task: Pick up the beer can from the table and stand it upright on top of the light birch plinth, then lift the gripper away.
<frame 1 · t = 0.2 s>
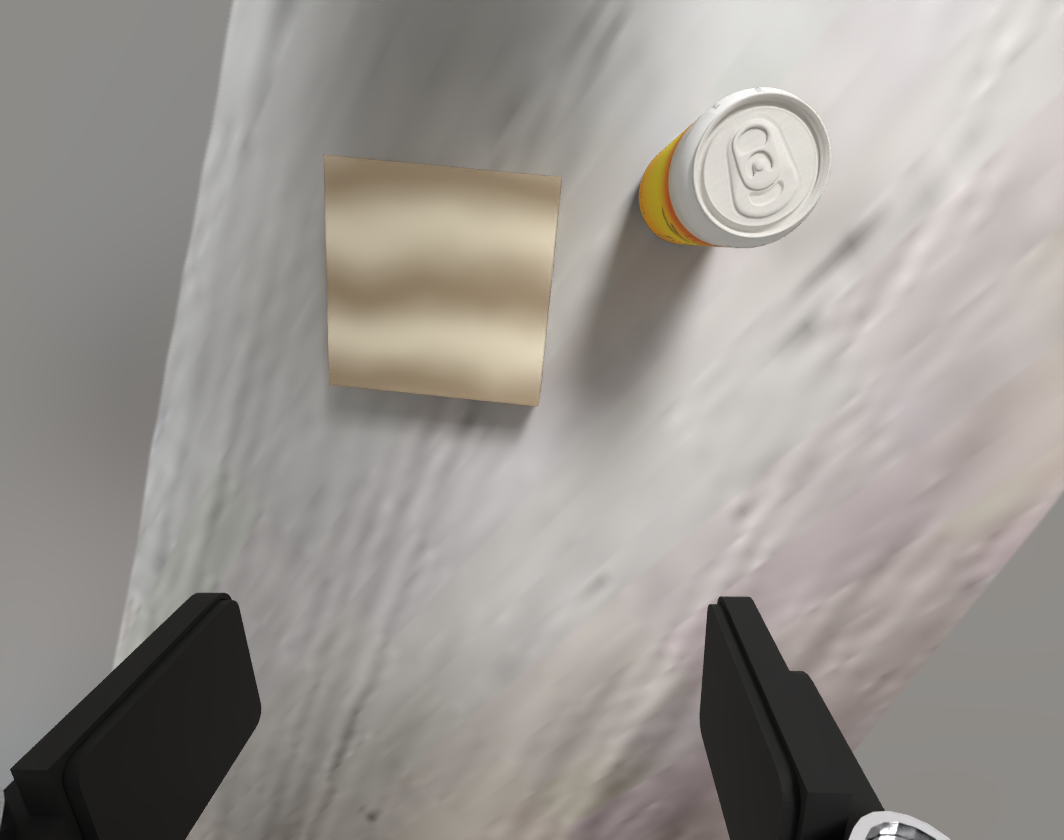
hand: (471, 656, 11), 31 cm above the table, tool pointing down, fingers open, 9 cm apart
birch plinth: (449, 282, 39), on the table
beer can: (684, 195, 37), on the table
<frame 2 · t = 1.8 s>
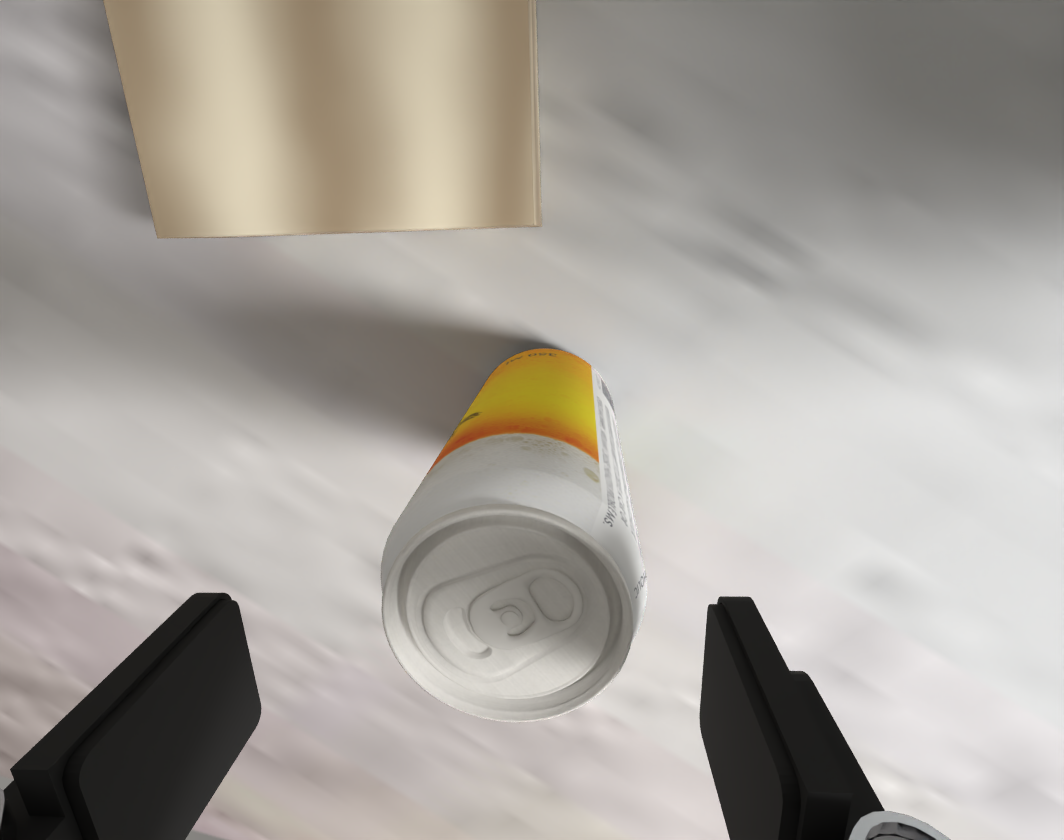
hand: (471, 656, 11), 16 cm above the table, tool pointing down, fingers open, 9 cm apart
birch plinth: (356, 42, 22), on the table
beer can: (546, 408, 26), on the table
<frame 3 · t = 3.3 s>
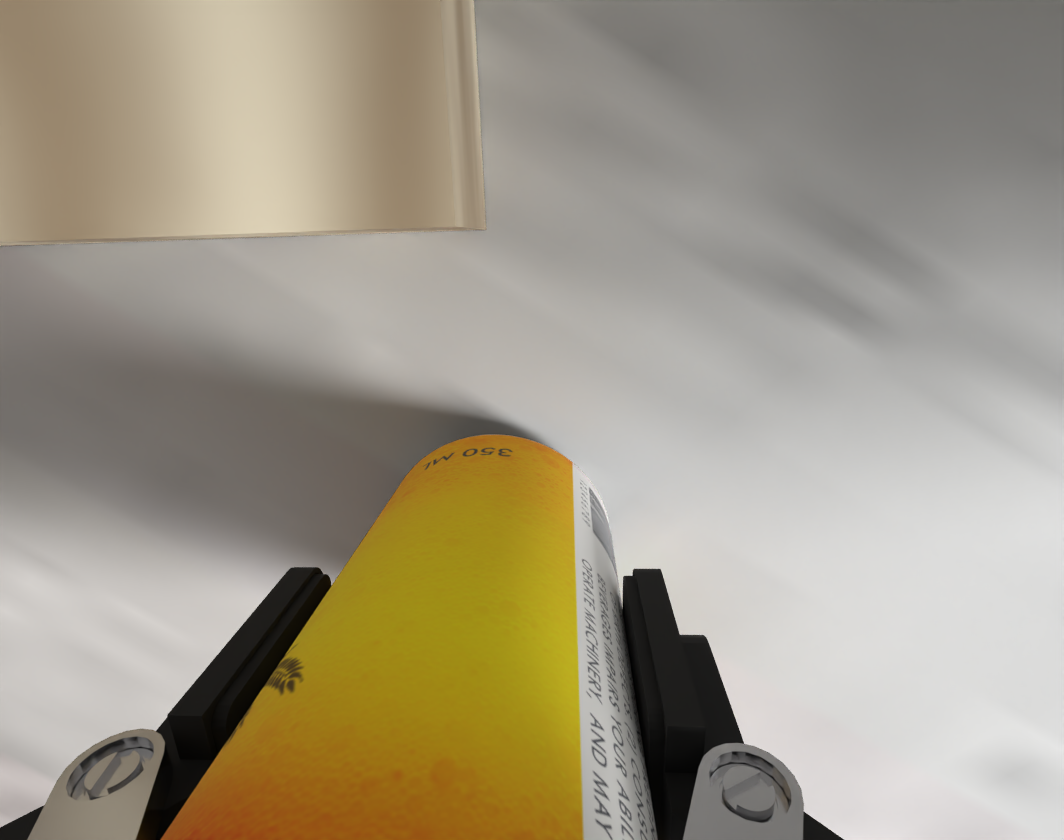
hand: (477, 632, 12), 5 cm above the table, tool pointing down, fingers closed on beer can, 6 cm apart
beer can: (502, 521, 16), on the table, touching gripper
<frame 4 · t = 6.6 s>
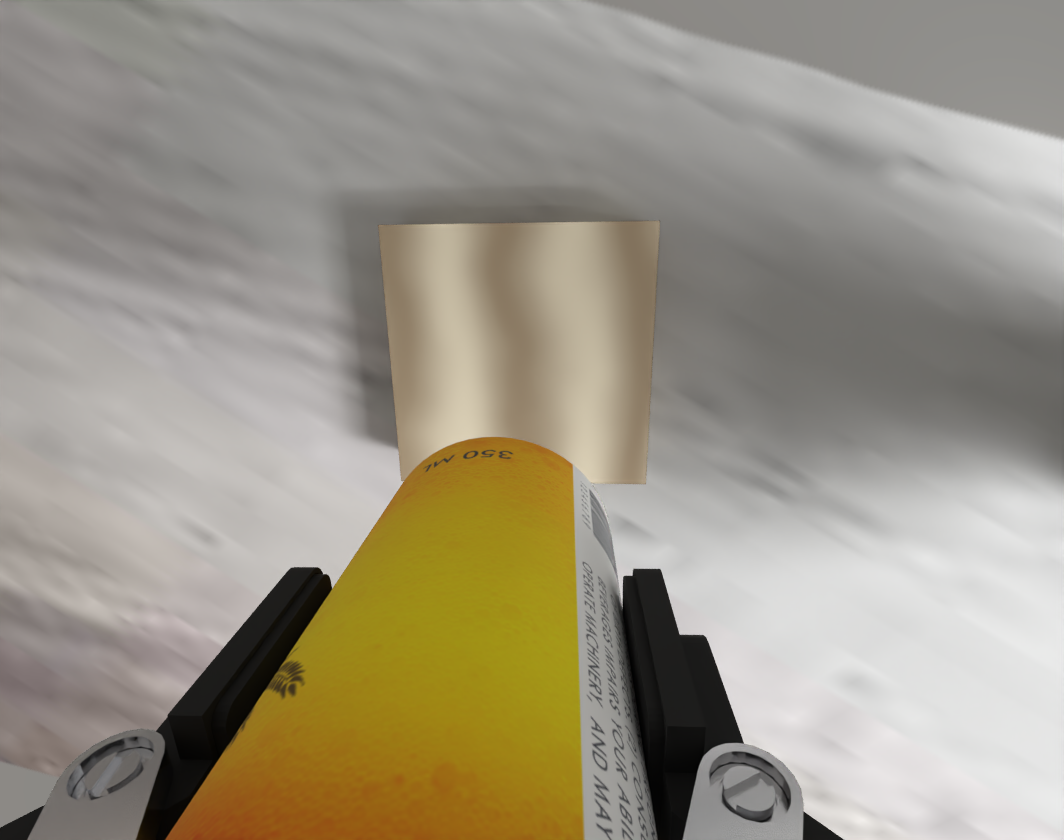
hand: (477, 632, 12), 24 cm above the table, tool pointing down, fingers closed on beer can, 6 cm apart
birch plinth: (524, 348, 34), on the table
beer can: (502, 523, 16), point 19 cm above the table, touching gripper
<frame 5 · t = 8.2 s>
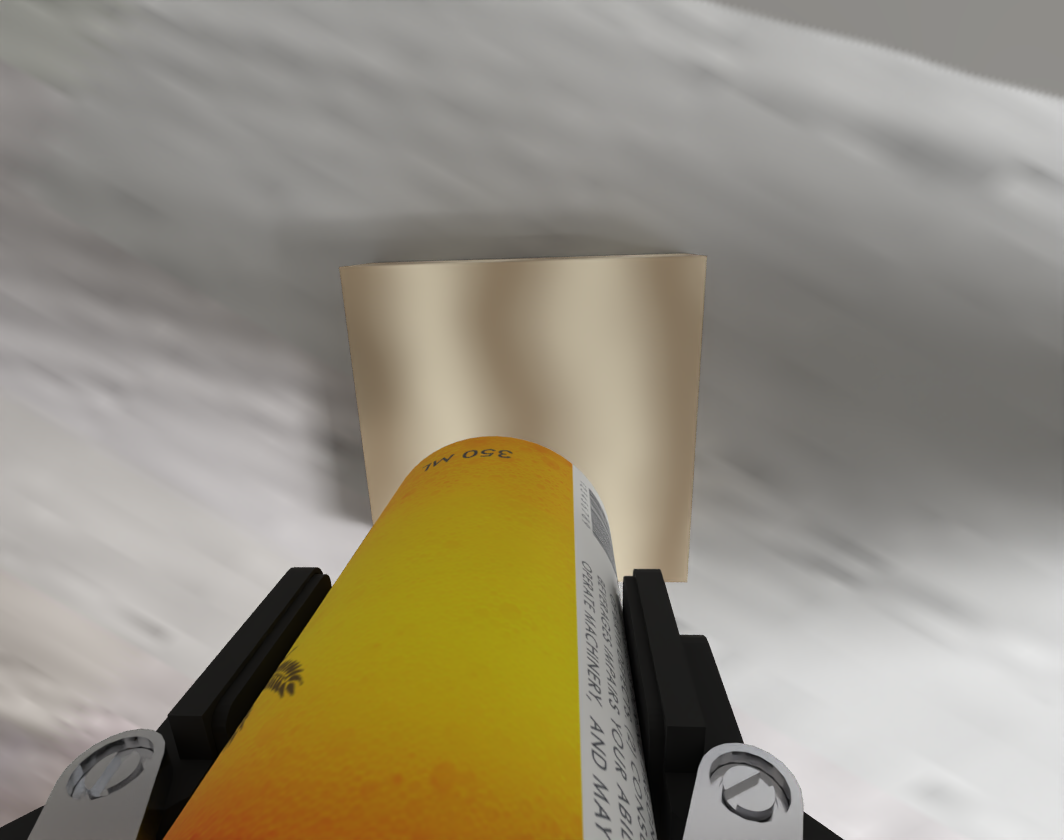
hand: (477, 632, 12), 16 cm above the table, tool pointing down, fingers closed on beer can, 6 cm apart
birch plinth: (531, 408, 27), on the table
beer can: (502, 522, 16), point 12 cm above the table, touching gripper
when the fingers open (10 cm above the table, at t = 9.8 s): beer can drops 1 cm, resting on birch plinth.
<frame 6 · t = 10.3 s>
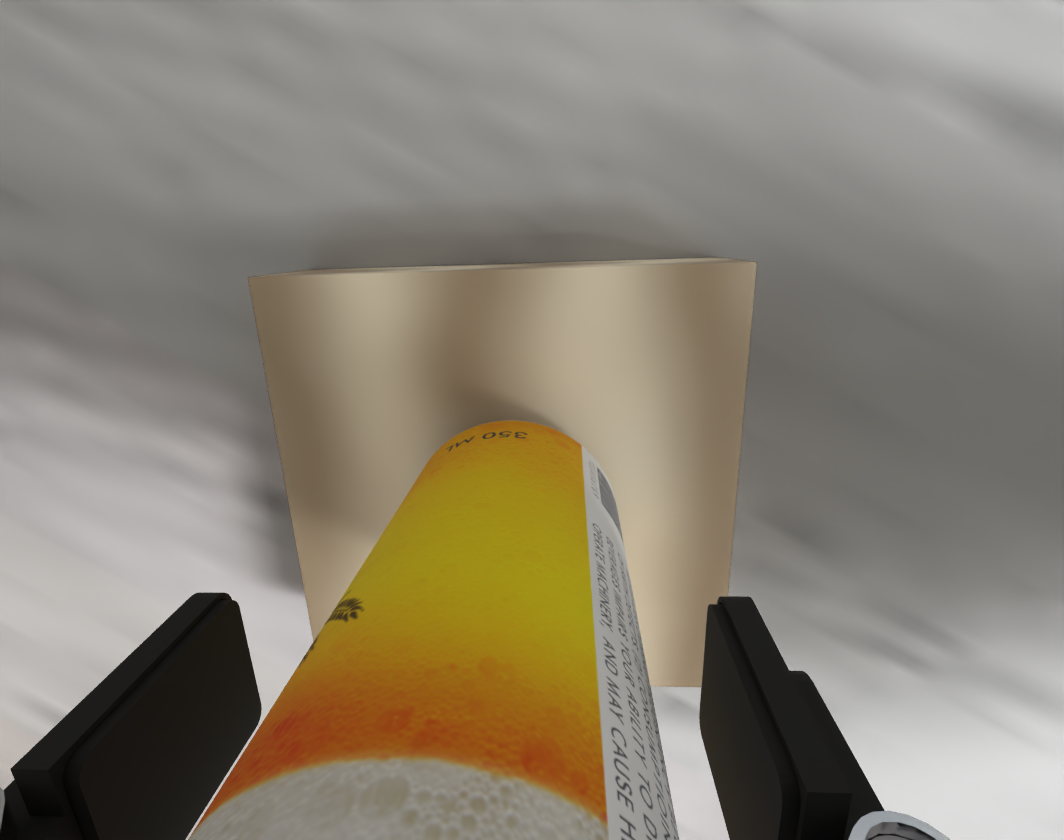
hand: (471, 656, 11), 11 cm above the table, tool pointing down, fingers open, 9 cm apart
birch plinth: (517, 455, 21), on the table
beer can: (517, 502, 18), point 4 cm above the table, touching birch plinth
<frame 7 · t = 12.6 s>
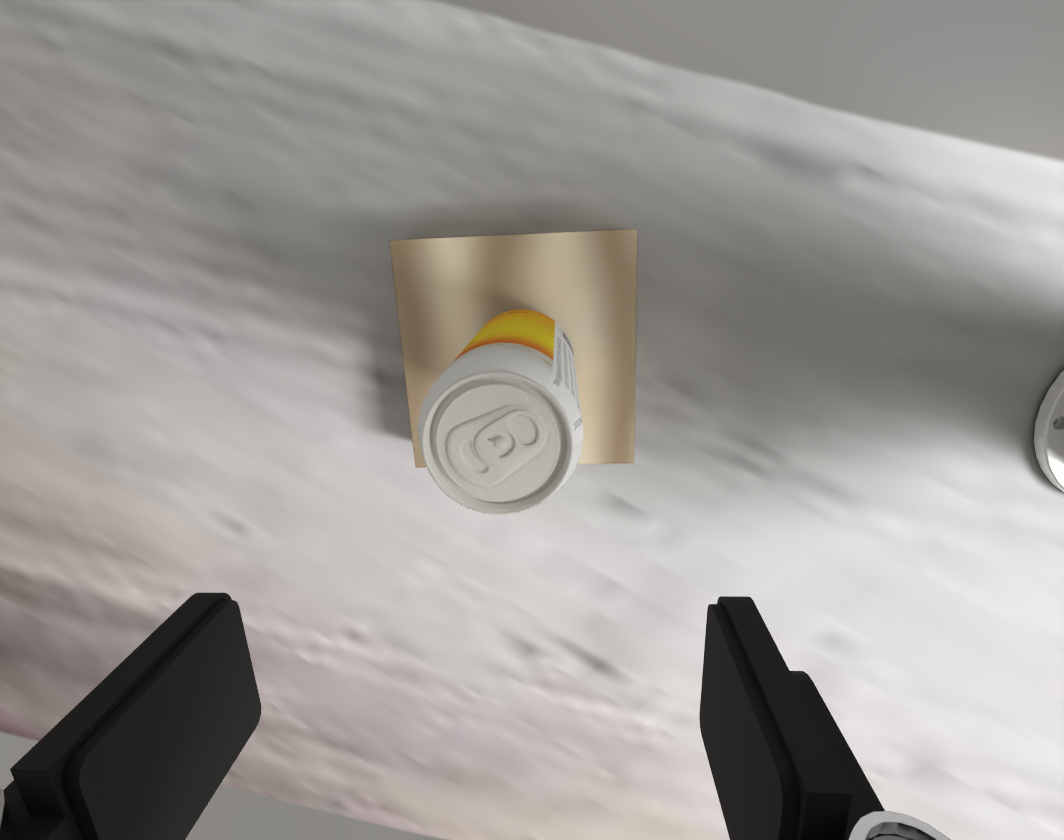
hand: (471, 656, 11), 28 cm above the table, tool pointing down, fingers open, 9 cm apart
birch plinth: (522, 345, 38), on the table
beer can: (523, 358, 34), point 4 cm above the table, touching birch plinth
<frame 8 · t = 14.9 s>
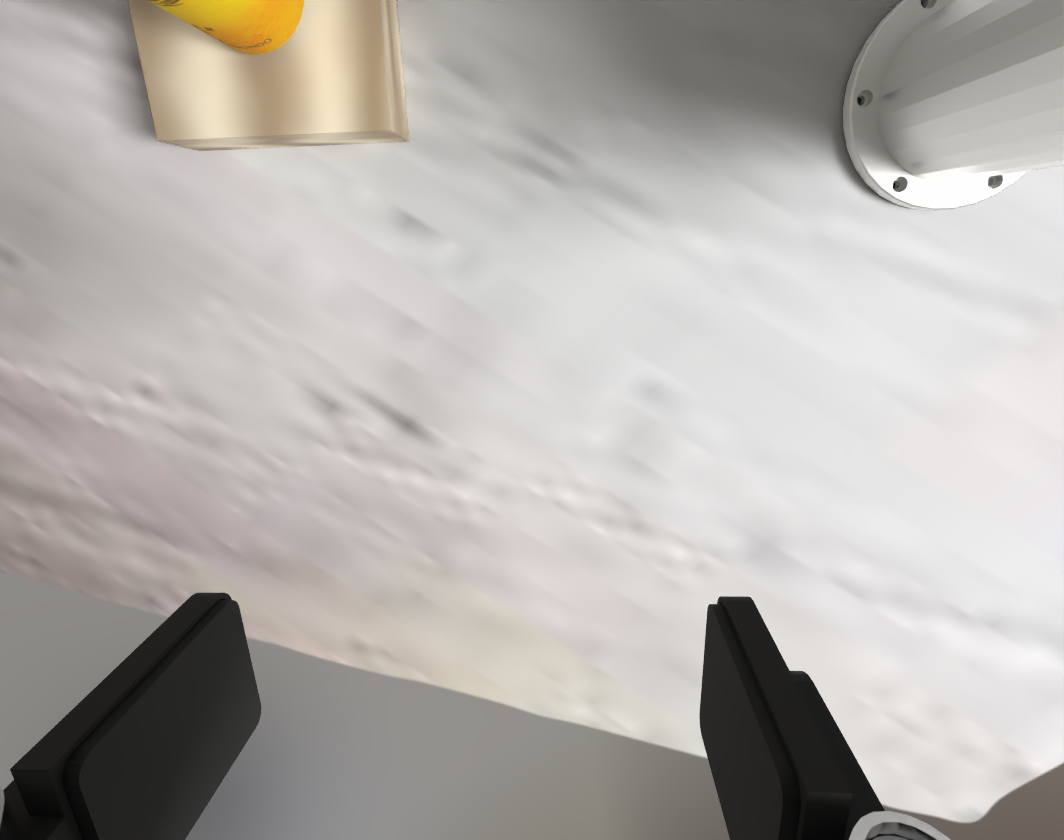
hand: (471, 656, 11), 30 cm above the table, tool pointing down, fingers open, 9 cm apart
birch plinth: (285, 20, 34), on the table
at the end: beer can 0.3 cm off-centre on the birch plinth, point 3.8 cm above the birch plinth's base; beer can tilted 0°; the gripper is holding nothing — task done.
